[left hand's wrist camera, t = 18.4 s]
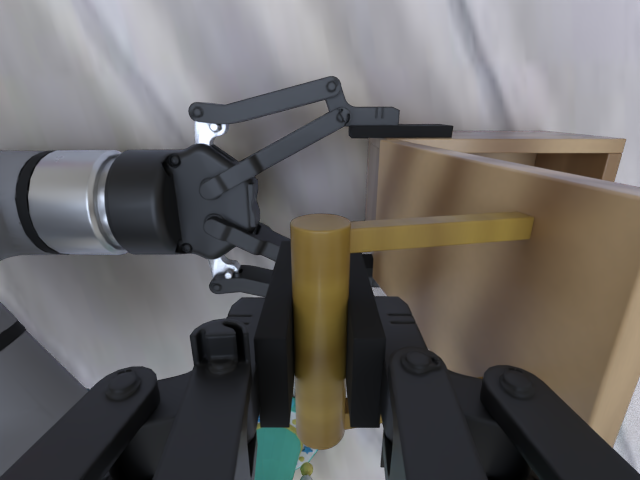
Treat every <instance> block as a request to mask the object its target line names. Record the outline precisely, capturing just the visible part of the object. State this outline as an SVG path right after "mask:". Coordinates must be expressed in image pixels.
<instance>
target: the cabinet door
mask: <svg viewBox="0 0 640 480" xmlns="http://www.w3.org/2000/svg"><path fill="white" fill-rule="evenodd" d="M290 232H291V266H292V300H293V335H294V369H295V403H296V432H297V435H298V437H299V439H300V441H301V442H302V443H303V444H304V445H306V446H308V447H309V448H312V449H317V450H324V449H329V448H332V447H333V446H335V445H337V444H338V443H339V442H340V440H341V439H342V437H343V435H344V432H345V430H346V429H352V428H350V418H349V408H348V398H346V351H347V318H348V299H349V275H350V253H360V252H373V251H374V260H373V279H374V280H375V281H376V282H377V284H378V285H379V286H380V288H381V289H382V290H383V291H384V293H385V294H386V295H387V296H398V297H399V298H401V299H402V300H403V301H404V302H406V303H407V304H408V306H409V308H410V310H411V312H412V316H413V317H414V319H415V321H416V324H417V326H418V328H419V330H420V332H421V335H422V337H423V339H424V341H425V344H426V346H427V348H428V349H429V350H430V351H432V352H434V353H435V354H436V355H438V356H439V357H440V358H441V359H442V360H443V362H444V363H445V365H446V367H447V369H449V370H451V371H453V372H456V373H459V374H463V375H467V376H472V377H476V378H480V379H483V376H484V372H485V371H486V370H487V369H488V368H489V367H492V366H496V365H510V366H514V367H518V368H522V369H524V370H526V371H528V372H530V373H532V374H534V375H535V376H537V377H538V378H539V379H541V380H542V381H543V382H544V383H545V384H547V385H548V386H549V387H550V388H551V389H552V390H553V391H554V392H555V393H556V394H557V395H558V396H559V397H560V398H561V399H562V400H563V401H564V402H565V403H566V404H567V405H568V406H569V407H570V408H571V409H572V410H574V411H575V412H576V413H577V414H578V415H579V416H580V417H581V418H582V419H583V420H584V421H585V422H586V423H587V424H588V425H589V426H590V427H591V428H592V429H593V430H594V431H595V432H596V433H597V434H598V435H599V436H601V437H602V438H603V439H604V440H605V441H606V442H607V443H608V444H609V445H610V446H611V447H612V448H613V446H614V444H615V441H616V438H617V436H618V433H619V430H620V428H621V425H622V422H623V420H624V417H625V414H626V412H627V409H628V406H629V404H630V401H631V398H632V396H633V393H634V390H635V388H636V385H637V382H638V380H639V377H640V187H636V186H631V185H626V184H621V183H616V182H610V181H605V180H600V179H595V178H590V177H585V176H580V175H575V174H570V173H564V172H559V171H554V170H549V169H544V168H539V167H534V166H529V165H524V164H518V163H513V162H508V161H503V160H498V159H493V158H488V157H483V156H478V155H472V154H467V153H462V152H457V151H452V150H447V149H442V148H437V147H432V146H426V145H421V144H416V143H411V142H406V141H401V140H380V152H379V170H378V188H377V206H376V220H369V221H353V222H350V221H349V220H348V219H347V218H345V217H342V216H338V215H332V214H309V215H303V216H300V217H297V218H295V219H293V220H292V221H291V223H290ZM380 423H382V418H381V416H380Z"/></svg>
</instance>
